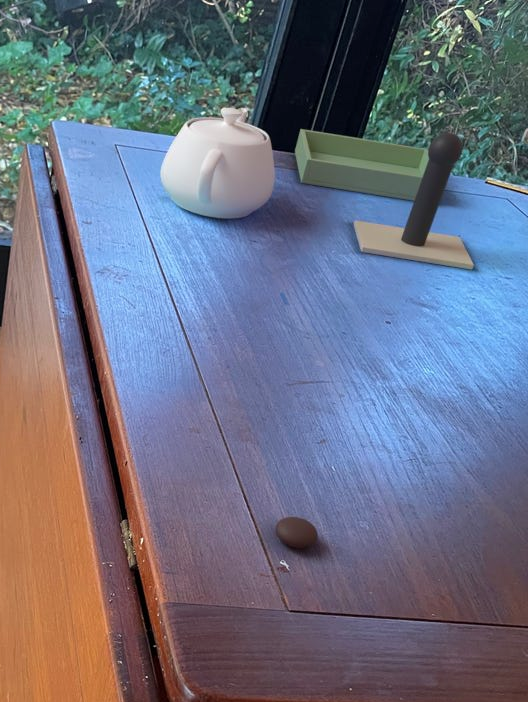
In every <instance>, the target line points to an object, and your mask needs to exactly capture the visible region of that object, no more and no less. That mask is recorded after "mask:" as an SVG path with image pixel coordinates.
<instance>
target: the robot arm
mask: <svg viewBox="0 0 528 702" xmlns="http://www.w3.org/2000/svg"><path fill="white" fill-rule="evenodd" d="M521 143H522V144H523V145H524V146H526V147H527V148H528V127H527V128H526V129H525V130H524V132H523V135H522V138H521Z"/></svg>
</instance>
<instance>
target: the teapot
mask: <svg viewBox="0 0 528 702" xmlns="http://www.w3.org/2000/svg"><path fill="white" fill-rule="evenodd" d="M220 114H221V116H222V117H223V118H222V117H212V116H210V117H209V116H208V117H207V116H206V117H205V116H204V117H196V118H195V117H194V118H191V119H188V120H187V121H186V122H185V123H184V124H183V126H182V127H181V129H180V130H179V131H178V134H177V135H176V136H175V138H174V139H173V141H172V143H171V144H170V146H169V148H168V150H167V152H166V154H165V156H164V158H163V160H162V164H161V167H160V173H159V175H160V180H161V184H162V187H163V189H164V190H165V192H166V193H167V194H168V196H169V197H170V199H171V201H172V202H173V203H174V204H175V205H176V206H178V207H179V208H181V209H183V210H186V211H188V212H191V213H194V214H196V215H200V216H204V217H209V218H216V219H239V218H240V219H241V218H244V217H247V216H249V215H251V214H252V213H253V212H255V211H256V210H258V209H260V208H262V207H263V206H264V205H265V204H266V203H267V202H268V201H269V199H270V198H271V197H272V195H273V192H274V186H275V177H276V175H275V174H276V173H275V172H276V171H275V160H274V153H273V147H272V142H271V138H270V136H269V134H268V133H267V132H266V131H265V130H263V129H261V128H259V127H257V126H255V125H252V124H249V123H246V119H247V116H248V109H247V108H245V107H240V108H238V109H237V108H234V107H221V109H220Z"/></svg>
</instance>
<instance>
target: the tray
mask: <svg viewBox="0 0 528 702" xmlns="http://www.w3.org/2000/svg"><path fill="white" fill-rule="evenodd" d="M428 150H429V148H421V147H417V146H410V145H404V144H397V143H391V142H386V141H378V140H372V139H365V138H361V137H354V136H348V135H341V134H334V133H328V132H323V131H317V130H316V131H315V130H310V129H303V128H300V130H299V133H298V138H297V141H296V146H295V148H294V155H295V159H296V164H297V169H298V173H299V179H300V183H301V184H306V185H313V186H317V187H318V186H319V187H325V188H330V189H331V188H332V189H338V190H342V191H343V190H344V191H350V192H356V193H362V194H369V195H374V196H381V197H387V198H393V199H400V200H406V201H411V202H412V201H413V202H414V200H415V197H416V195H417V192H418V189H419V186H420V183H421V180H422V177H423V174H424V172H425V169H426V166H427V163H428V160H429V157H428Z"/></svg>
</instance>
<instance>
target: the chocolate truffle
mask: <svg viewBox="0 0 528 702" xmlns="http://www.w3.org/2000/svg"><path fill="white" fill-rule="evenodd" d="M274 531H275V535H276V537H277V538H278V540H279V541H280V542H282V543H283V544H284V545H286V546H288V547H291V548H296V549H305V548H309V547H311V546H313V545H314V544H316V542H317V540H318V530H317V529H316V527H315V526H314V525H313V524H312V523H311V522H310V521H309V520H307V519H304V518H303V517H298V516H288V517H284V518H281V519H280V520H279V521H278V522H277V523H276V525H275V529H274Z"/></svg>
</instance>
